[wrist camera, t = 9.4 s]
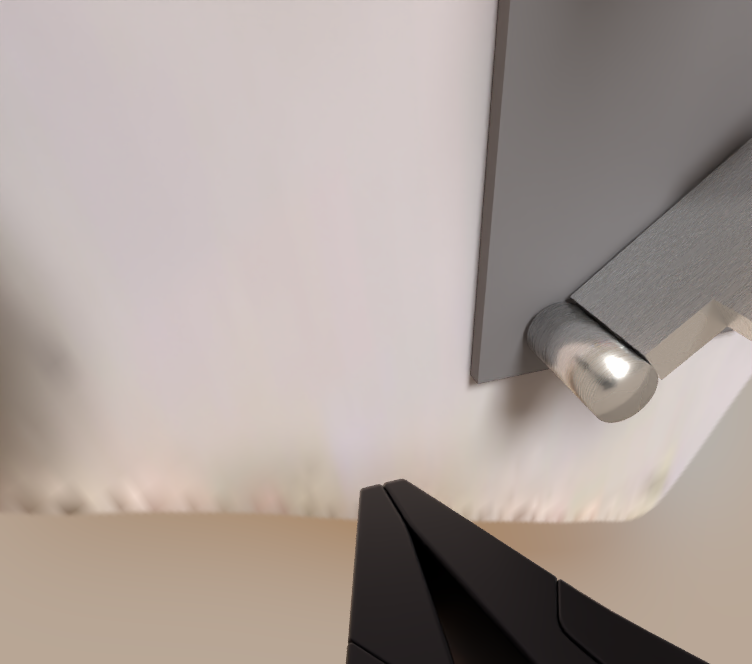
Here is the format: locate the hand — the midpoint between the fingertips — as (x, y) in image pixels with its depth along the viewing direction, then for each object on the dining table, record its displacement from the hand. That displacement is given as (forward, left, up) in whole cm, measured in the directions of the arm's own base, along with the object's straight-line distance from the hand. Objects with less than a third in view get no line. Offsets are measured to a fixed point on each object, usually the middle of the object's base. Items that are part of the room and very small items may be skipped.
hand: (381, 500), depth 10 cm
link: (+15, +7, -12) cm, 20 cm away
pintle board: (+14, +8, -13) cm, 21 cm away
